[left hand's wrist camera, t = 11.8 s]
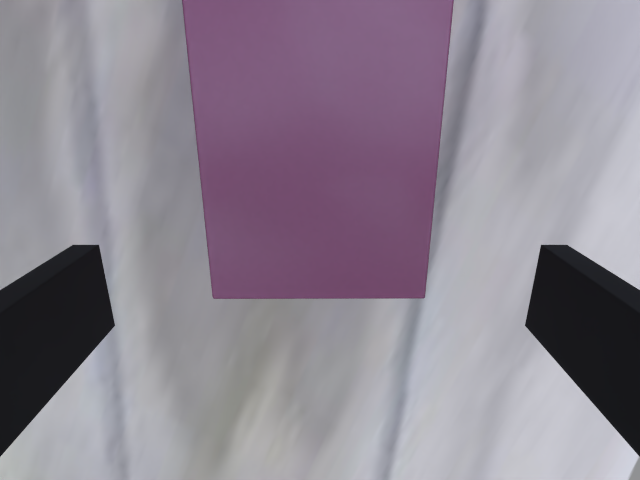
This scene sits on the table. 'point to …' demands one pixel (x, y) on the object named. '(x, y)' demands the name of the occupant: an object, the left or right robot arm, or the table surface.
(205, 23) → the cabinet
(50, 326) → the left robot arm
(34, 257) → the table surface
